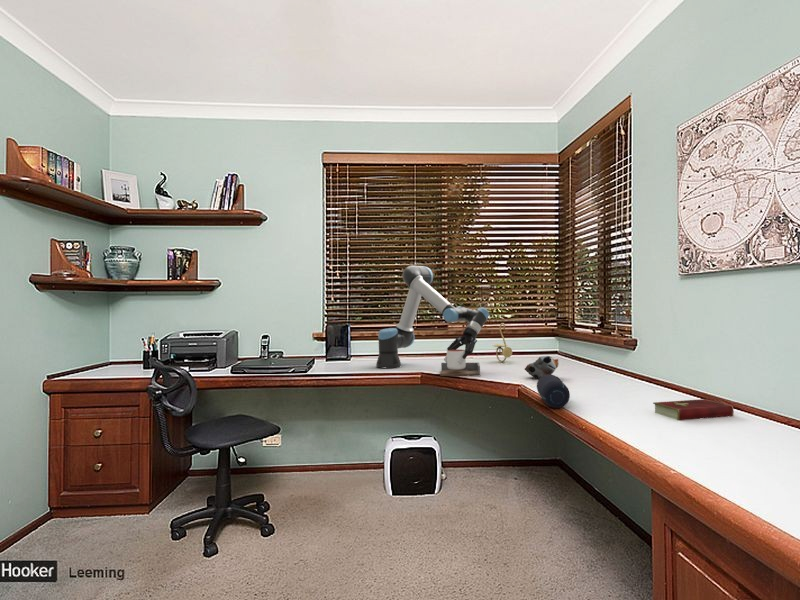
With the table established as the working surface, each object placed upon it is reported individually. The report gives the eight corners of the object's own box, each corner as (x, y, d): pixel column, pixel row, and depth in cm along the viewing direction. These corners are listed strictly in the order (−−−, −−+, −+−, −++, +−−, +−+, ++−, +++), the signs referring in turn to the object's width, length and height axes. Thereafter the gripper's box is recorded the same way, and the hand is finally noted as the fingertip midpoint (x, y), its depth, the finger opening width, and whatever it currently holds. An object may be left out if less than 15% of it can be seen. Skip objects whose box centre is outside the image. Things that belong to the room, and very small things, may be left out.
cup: (462, 367, 280) (461, 349, 280) (468, 369, 270) (467, 350, 270) (445, 368, 278) (444, 349, 278) (450, 370, 268) (449, 351, 268)
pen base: (441, 371, 284) (441, 369, 284) (479, 371, 281) (479, 369, 281) (440, 376, 269) (440, 373, 269) (480, 375, 266) (480, 373, 266)
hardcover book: (733, 417, 168) (733, 405, 168) (678, 421, 164) (678, 408, 164) (705, 410, 180) (705, 398, 180) (653, 413, 176) (653, 401, 176)
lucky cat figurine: (541, 374, 266) (553, 352, 262) (554, 386, 255) (567, 363, 252) (519, 368, 260) (532, 345, 256) (531, 380, 249) (545, 356, 245)
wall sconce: (514, 362, 316) (513, 323, 316) (501, 363, 313) (500, 323, 313) (502, 360, 329) (502, 322, 329) (490, 361, 326) (489, 322, 326)
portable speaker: (572, 410, 182) (571, 383, 182) (543, 410, 183) (542, 382, 183) (560, 397, 207) (560, 372, 207) (535, 396, 208) (535, 372, 208)
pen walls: (441, 369, 284) (441, 362, 284) (479, 369, 281) (479, 362, 281) (440, 373, 269) (440, 366, 269) (480, 373, 266) (479, 366, 266)
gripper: (490, 336, 275) (471, 368, 265) (460, 334, 292) (441, 364, 282) (483, 327, 271) (463, 359, 261) (453, 326, 289) (434, 355, 279)
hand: (452, 361), depth 272 cm, fingers closed on cup, 10 cm apart
